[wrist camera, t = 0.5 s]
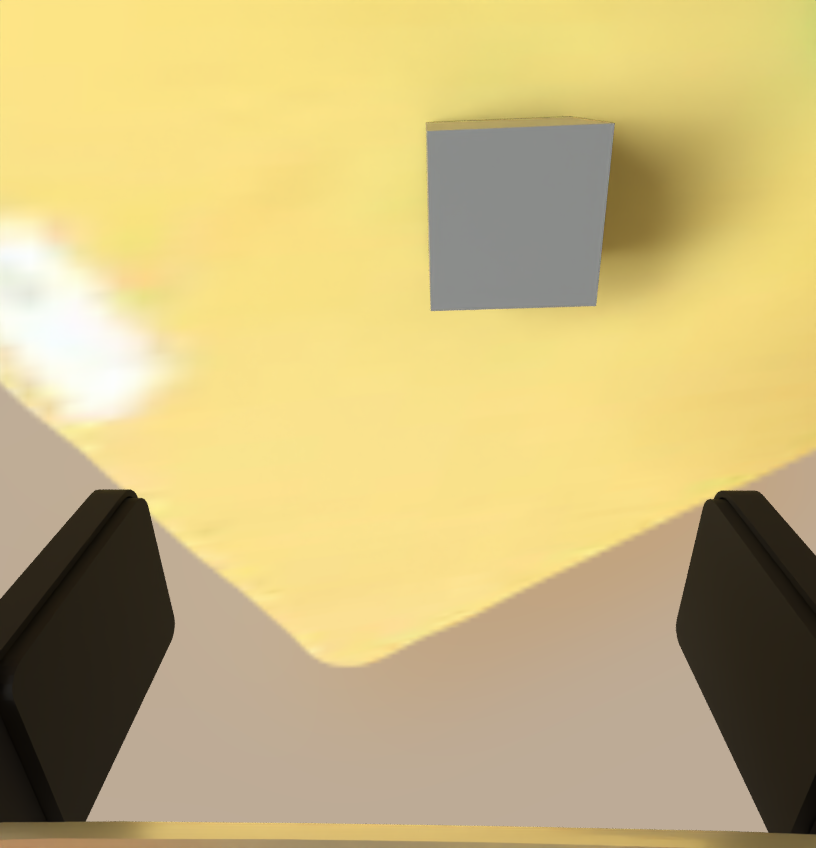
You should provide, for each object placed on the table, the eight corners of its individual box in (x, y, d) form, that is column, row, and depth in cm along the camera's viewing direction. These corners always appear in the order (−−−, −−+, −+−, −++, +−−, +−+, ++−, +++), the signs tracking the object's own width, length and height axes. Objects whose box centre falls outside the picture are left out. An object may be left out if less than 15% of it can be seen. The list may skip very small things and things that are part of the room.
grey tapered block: (426, 122, 34) (426, 130, 26) (570, 116, 34) (614, 123, 26) (429, 265, 38) (430, 310, 30) (559, 261, 37) (596, 305, 30)
